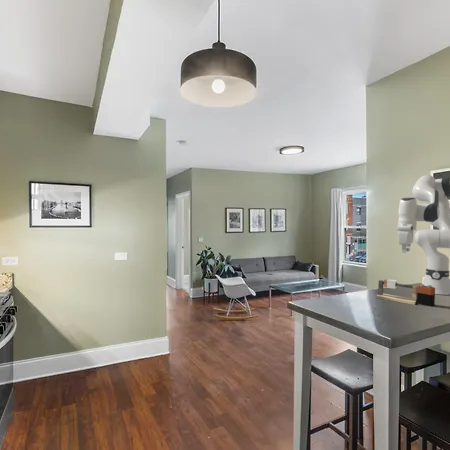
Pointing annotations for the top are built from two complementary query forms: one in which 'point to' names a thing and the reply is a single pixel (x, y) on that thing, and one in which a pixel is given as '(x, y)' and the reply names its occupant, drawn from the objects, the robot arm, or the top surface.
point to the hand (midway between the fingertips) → (406, 251)
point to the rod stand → (397, 298)
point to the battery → (426, 295)
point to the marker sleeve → (391, 284)
